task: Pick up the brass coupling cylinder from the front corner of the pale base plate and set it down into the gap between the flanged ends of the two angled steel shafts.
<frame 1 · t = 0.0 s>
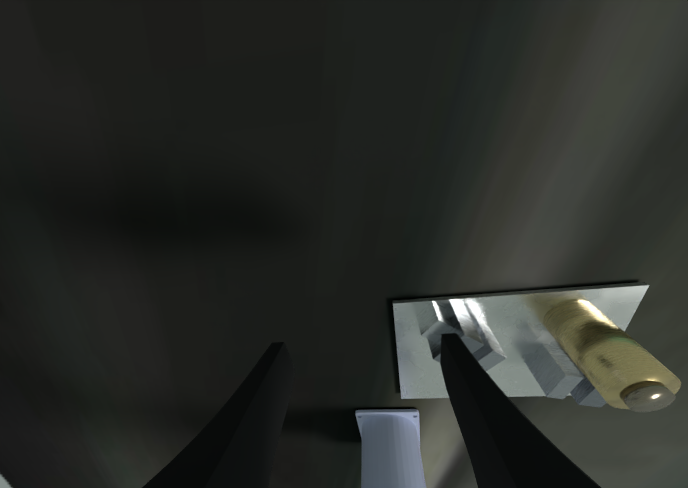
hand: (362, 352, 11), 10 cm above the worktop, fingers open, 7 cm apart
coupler: (568, 316, 22), resting on shaft rig
shaft rig: (499, 346, 24), on the worktop
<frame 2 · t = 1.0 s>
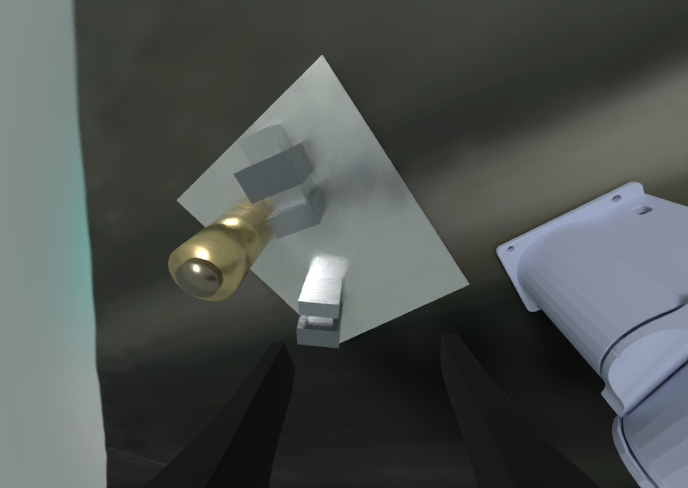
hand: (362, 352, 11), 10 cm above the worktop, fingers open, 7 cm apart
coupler: (248, 227, 20), resting on shaft rig
shaft rig: (325, 244, 21), on the worktop
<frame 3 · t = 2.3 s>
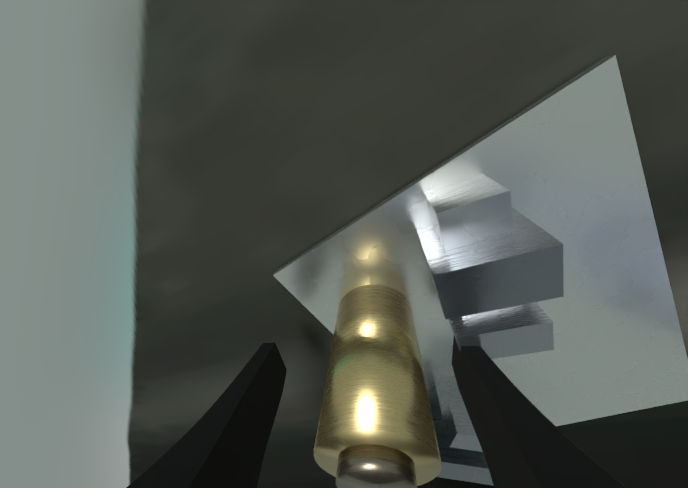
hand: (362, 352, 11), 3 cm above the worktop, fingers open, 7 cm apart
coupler: (374, 313, 13), resting on shaft rig
shaft rig: (482, 336, 14), on the worktop
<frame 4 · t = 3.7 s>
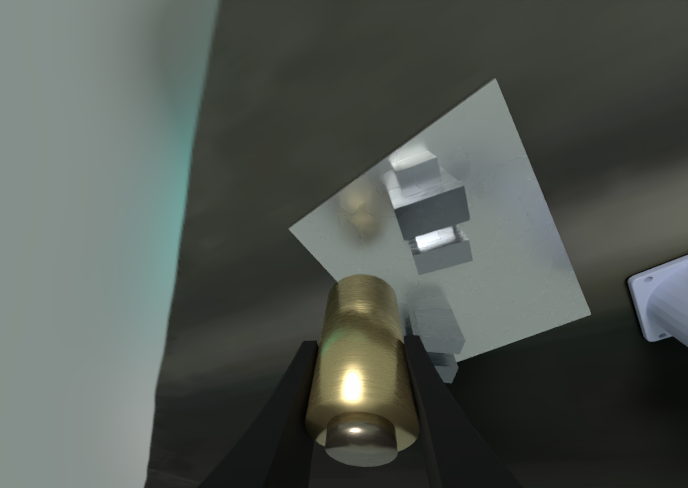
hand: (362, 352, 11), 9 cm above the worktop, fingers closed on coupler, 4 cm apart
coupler: (362, 302, 14), point 5 cm above the worktop, touching gripper
shaft rig: (440, 273, 19), on the worktop
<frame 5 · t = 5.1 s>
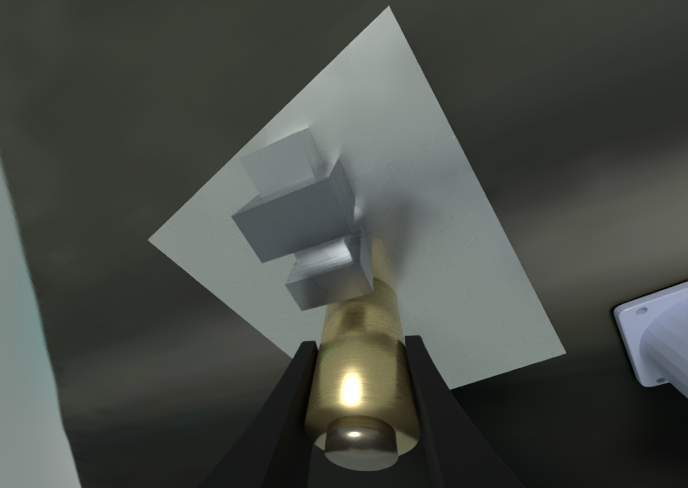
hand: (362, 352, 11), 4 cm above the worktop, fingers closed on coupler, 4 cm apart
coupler: (362, 303, 14), resting on shaft rig, touching gripper
shaft rig: (363, 299, 15), on the worktop
when the fingers open (3 cm above the worktop, at t = 5.7 s): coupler stays where it is, resting on shaft rig.
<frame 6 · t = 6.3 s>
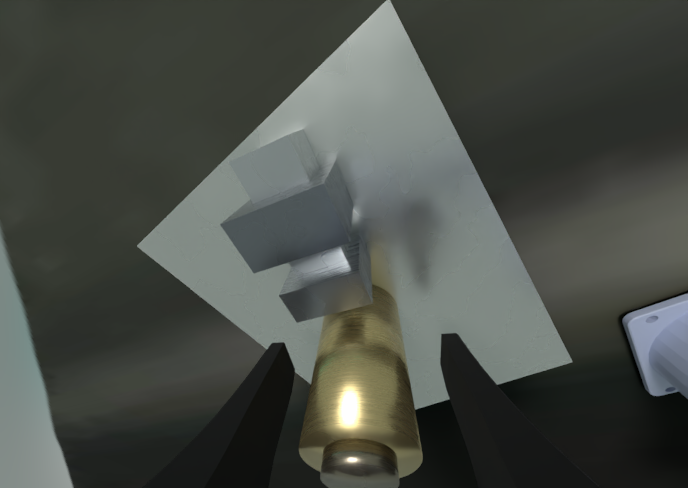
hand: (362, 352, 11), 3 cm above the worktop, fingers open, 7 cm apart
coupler: (361, 311, 14), resting on shaft rig
shaft rig: (362, 306, 14), on the worktop
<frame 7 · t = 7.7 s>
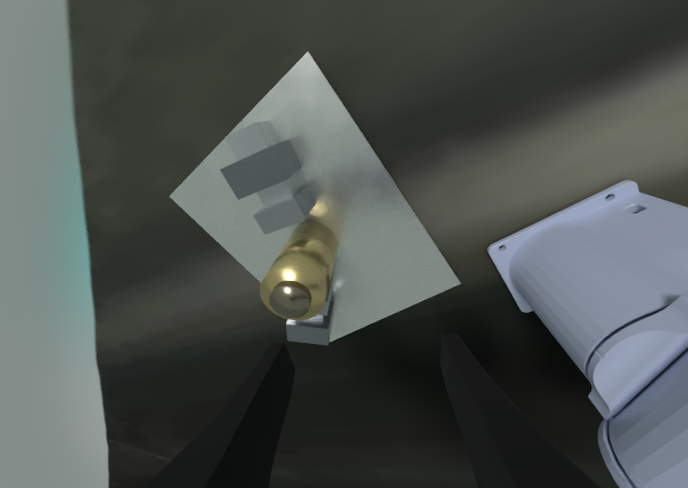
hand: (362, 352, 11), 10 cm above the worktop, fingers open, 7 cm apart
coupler: (314, 244, 21), resting on shaft rig
shaft rig: (315, 241, 21), on the worktop
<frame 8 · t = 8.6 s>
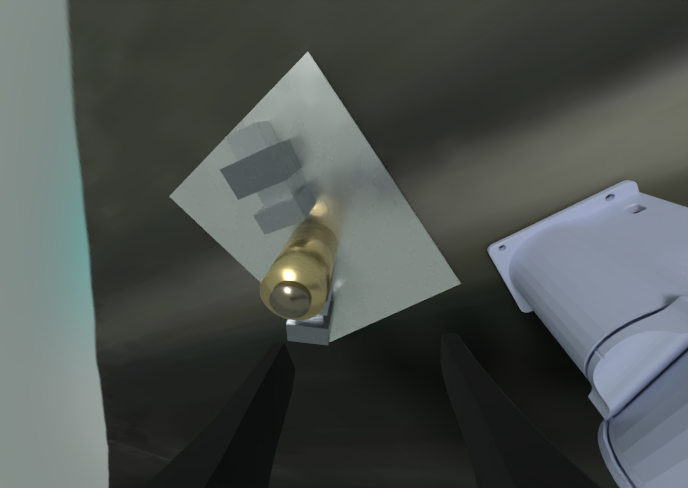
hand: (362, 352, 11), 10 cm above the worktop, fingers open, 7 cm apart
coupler: (314, 244, 21), resting on shaft rig
shaft rig: (315, 241, 21), on the worktop
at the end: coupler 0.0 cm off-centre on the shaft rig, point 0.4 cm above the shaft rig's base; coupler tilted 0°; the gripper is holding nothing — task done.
